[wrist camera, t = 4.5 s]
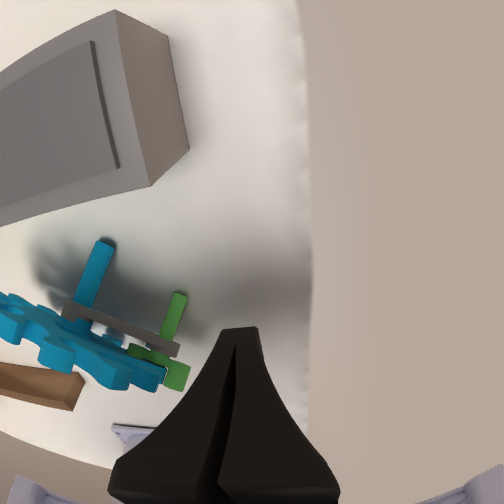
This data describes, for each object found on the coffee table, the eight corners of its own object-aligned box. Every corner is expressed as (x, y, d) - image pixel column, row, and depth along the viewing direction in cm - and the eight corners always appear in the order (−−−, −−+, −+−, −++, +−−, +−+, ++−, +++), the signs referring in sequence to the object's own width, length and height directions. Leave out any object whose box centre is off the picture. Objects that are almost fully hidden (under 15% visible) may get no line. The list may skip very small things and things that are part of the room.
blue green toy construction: (8, 309, 15) (-64, 320, 6) (40, 225, 17) (-5, 166, 8) (159, 375, 19) (208, 436, 10) (188, 293, 21) (258, 292, 12)
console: (189, 149, 12) (147, 189, 7) (57, 185, 13) (-12, 233, 8) (166, 30, 10) (109, -1, 5) (33, 86, 10) (-48, 101, 6)
